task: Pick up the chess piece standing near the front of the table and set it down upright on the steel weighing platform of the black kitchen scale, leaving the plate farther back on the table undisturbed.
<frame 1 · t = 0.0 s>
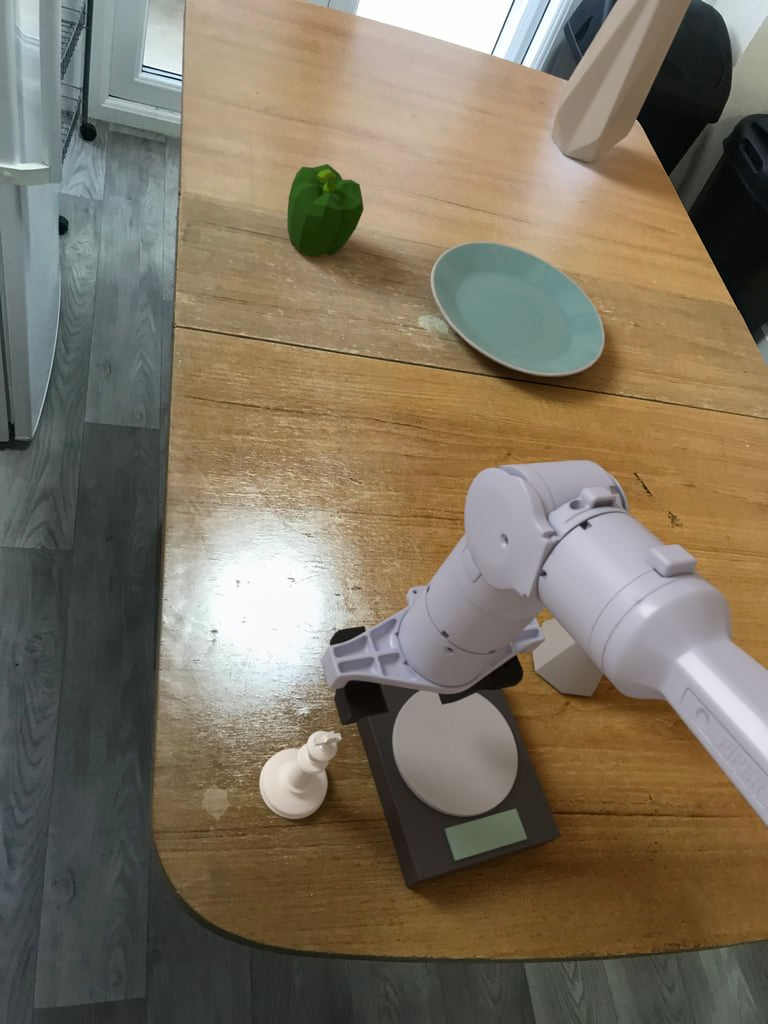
hand: (393, 700, 58), 8 cm above the table, tool pointing down, fingers open, 7 cm apart
scale: (446, 772, 65), on the table
vase: (570, 146, 131), on the table
chess piece: (292, 784, 60), on the table
bell pepper: (310, 244, 96), on the table
plate: (509, 322, 100), on the table
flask: (564, 660, 75), on the table
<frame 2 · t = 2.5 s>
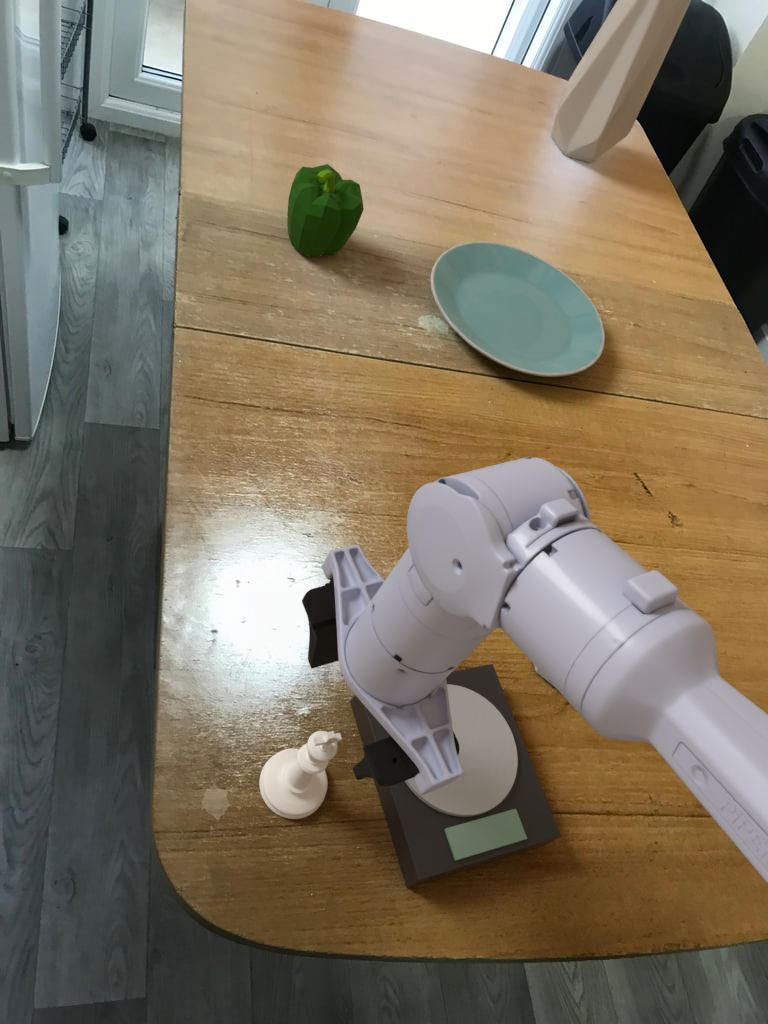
hand: (345, 713, 54), 10 cm above the table, tool pointing down, fingers open, 7 cm apart
nothing on the table moved.
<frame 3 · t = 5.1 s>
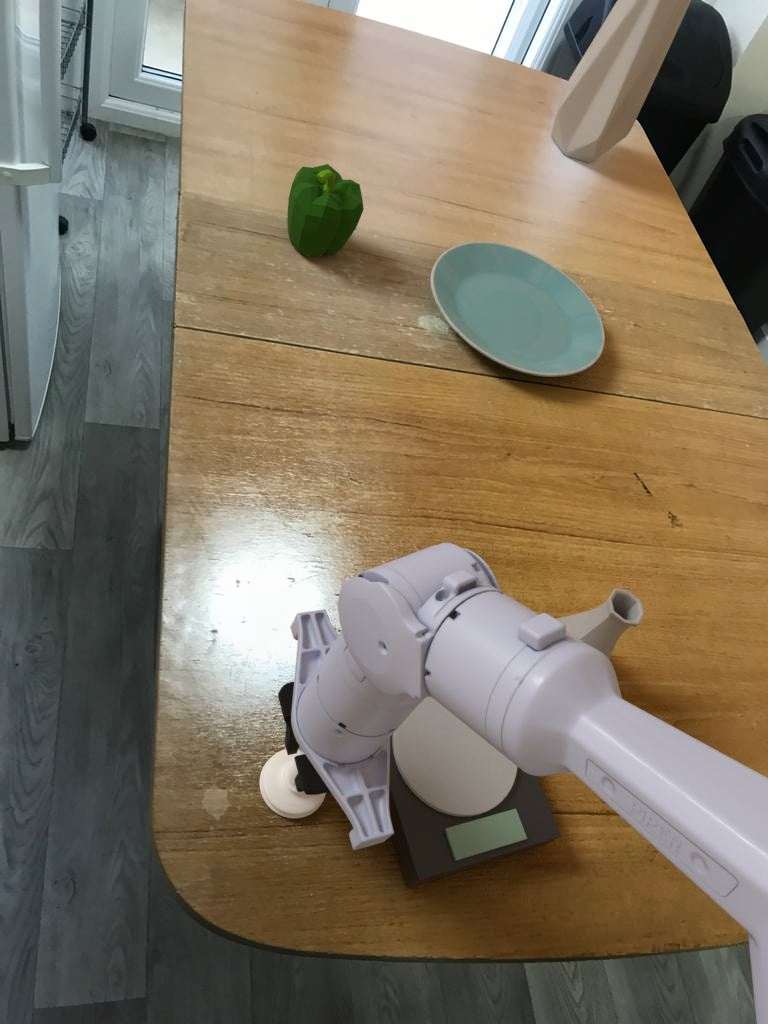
hand: (305, 766, 58), 3 cm above the table, tool pointing down, fingers closed on chess piece
chess piece: (292, 784, 60), on the table, touching gripper
everything else where it was.
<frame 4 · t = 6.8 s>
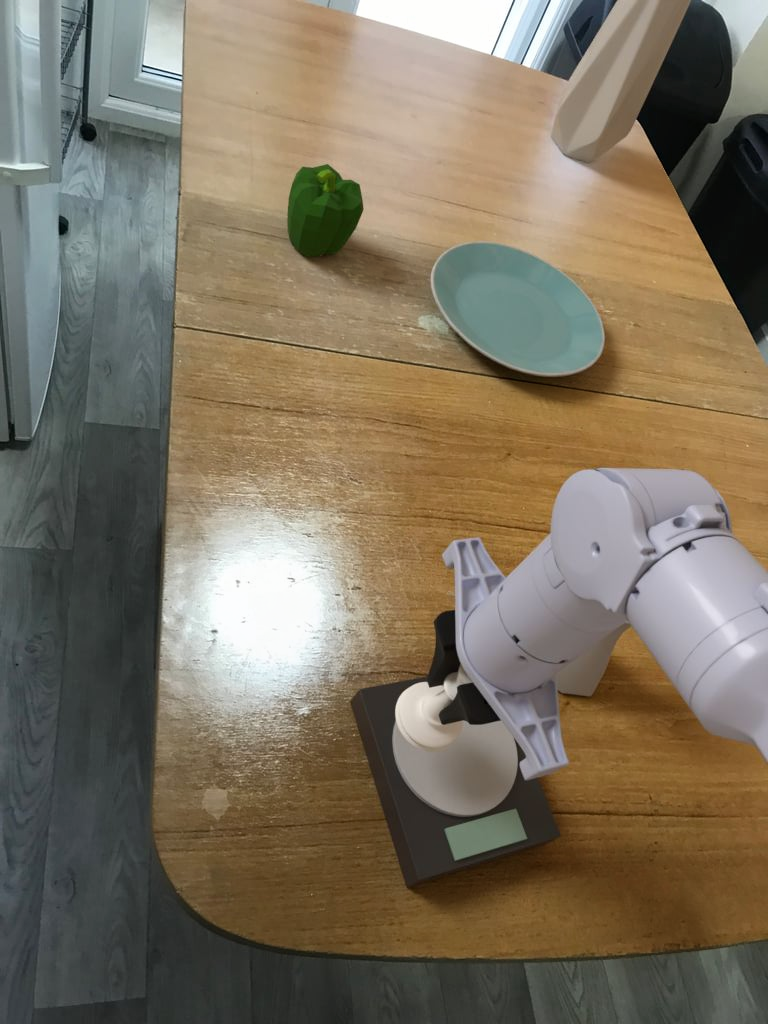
hand: (446, 699, 56), 10 cm above the table, tool pointing down, fingers closed on chess piece
chess piece: (427, 718, 59), point 7 cm above the table, touching gripper
everything else where it was.
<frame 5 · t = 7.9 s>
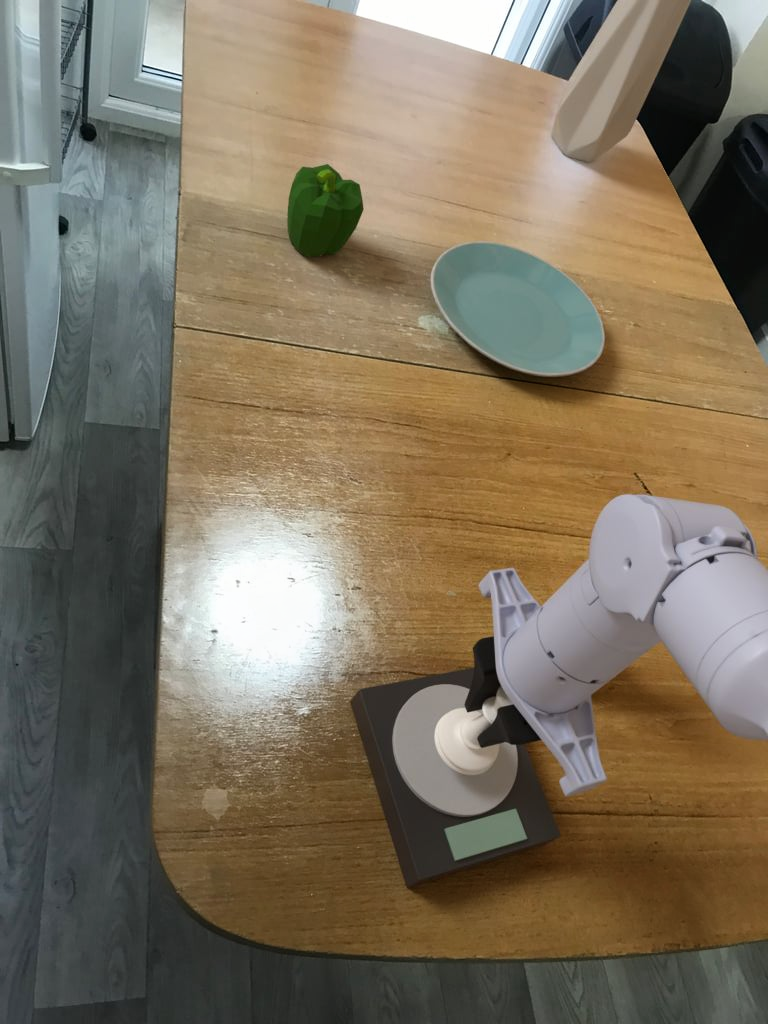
hand: (484, 723, 59), 8 cm above the table, tool pointing down, fingers closed on chess piece
chess piece: (464, 743, 62), point 4 cm above the table, touching gripper
everything else where it was.
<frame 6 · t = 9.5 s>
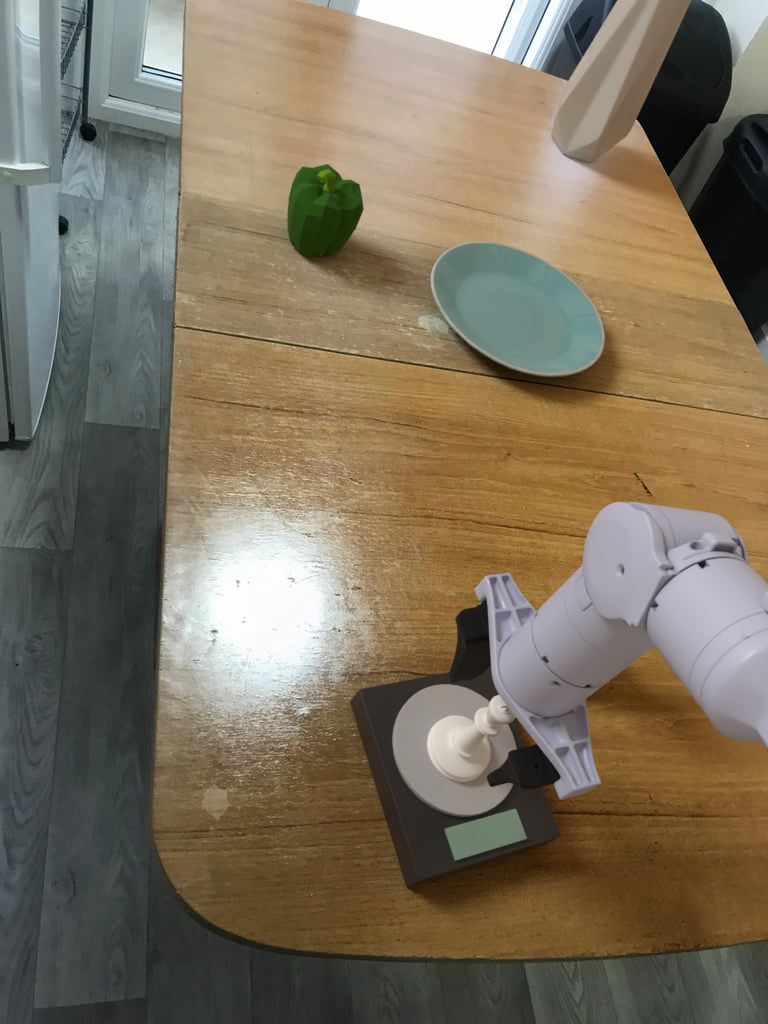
hand: (480, 726, 60), 7 cm above the table, tool pointing down, fingers open, 7 cm apart
chess piece: (456, 750, 63), point 3 cm above the table, touching scale
everything else where it was.
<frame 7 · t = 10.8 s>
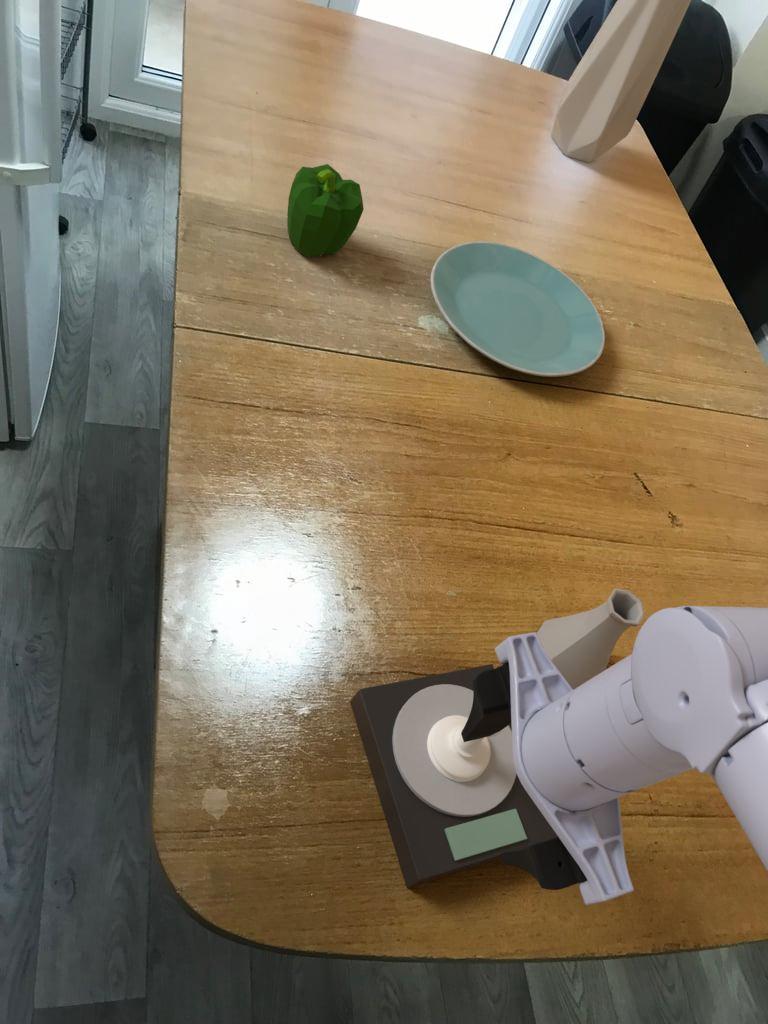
hand: (494, 793, 53), 10 cm above the table, tool pointing down, fingers open, 7 cm apart
nothing on the table moved.
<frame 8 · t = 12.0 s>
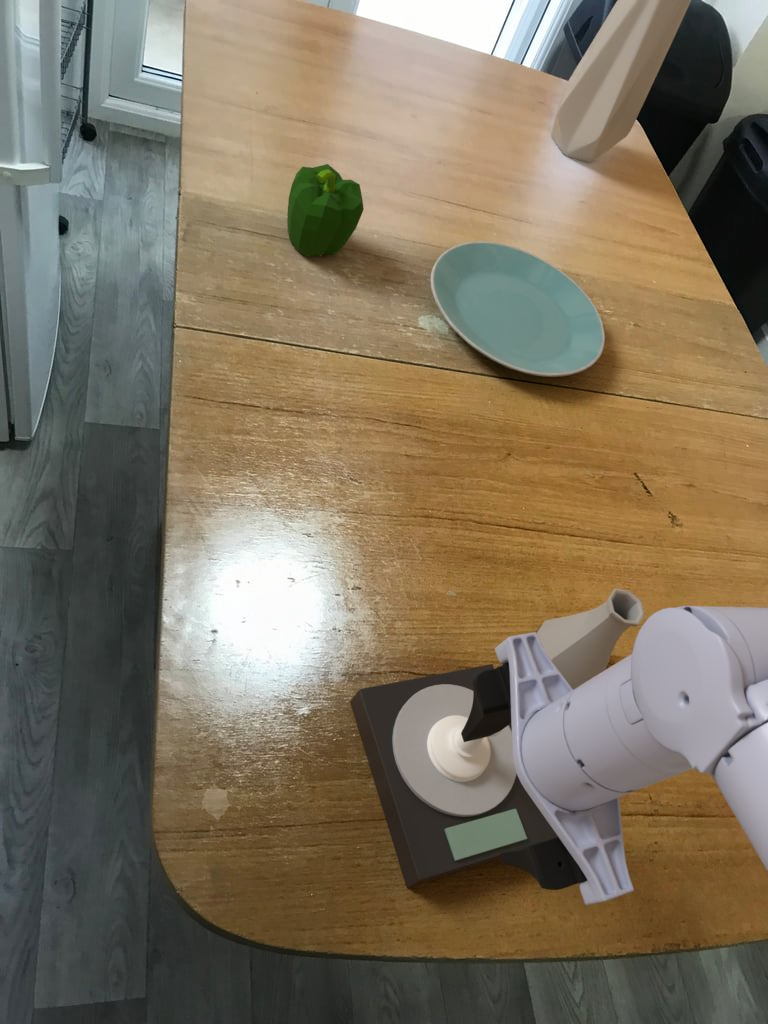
hand: (494, 793, 53), 10 cm above the table, tool pointing down, fingers open, 7 cm apart
nothing on the table moved.
at the end: chess piece inside the target area on the scale (0.2 cm from its centre), point 2.8 cm above the scale's base; chess piece tilted 0°; plate moved 0.2 cm from its start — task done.
